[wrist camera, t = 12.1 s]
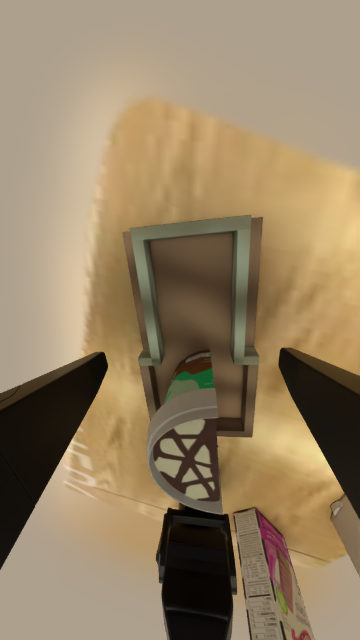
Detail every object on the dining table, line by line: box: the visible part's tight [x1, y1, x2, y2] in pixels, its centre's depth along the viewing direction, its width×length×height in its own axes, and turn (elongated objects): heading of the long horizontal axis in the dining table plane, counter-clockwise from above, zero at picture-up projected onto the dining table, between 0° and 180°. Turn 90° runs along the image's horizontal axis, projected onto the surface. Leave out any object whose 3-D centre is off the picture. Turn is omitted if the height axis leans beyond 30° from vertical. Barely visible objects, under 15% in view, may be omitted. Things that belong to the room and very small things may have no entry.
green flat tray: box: [123, 215, 263, 437], centre depth 20 cm, size 25×13×2 cm, turn 5°
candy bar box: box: [233, 508, 315, 640], centre depth 26 cm, size 11×5×16 cm, turn 38°
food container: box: [147, 350, 223, 514], centre depth 18 cm, size 12×6×10 cm, turn 6°
